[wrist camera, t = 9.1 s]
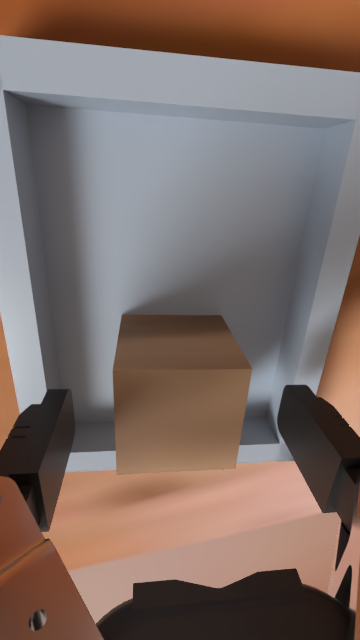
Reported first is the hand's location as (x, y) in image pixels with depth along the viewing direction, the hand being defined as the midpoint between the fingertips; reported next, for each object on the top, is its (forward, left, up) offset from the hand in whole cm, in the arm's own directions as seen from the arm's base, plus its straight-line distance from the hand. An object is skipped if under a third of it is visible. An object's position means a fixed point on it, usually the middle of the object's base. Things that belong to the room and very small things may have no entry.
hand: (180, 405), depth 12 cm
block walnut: (0, 0, -3) cm, 3 cm away
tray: (-3, 0, -4) cm, 5 cm away
